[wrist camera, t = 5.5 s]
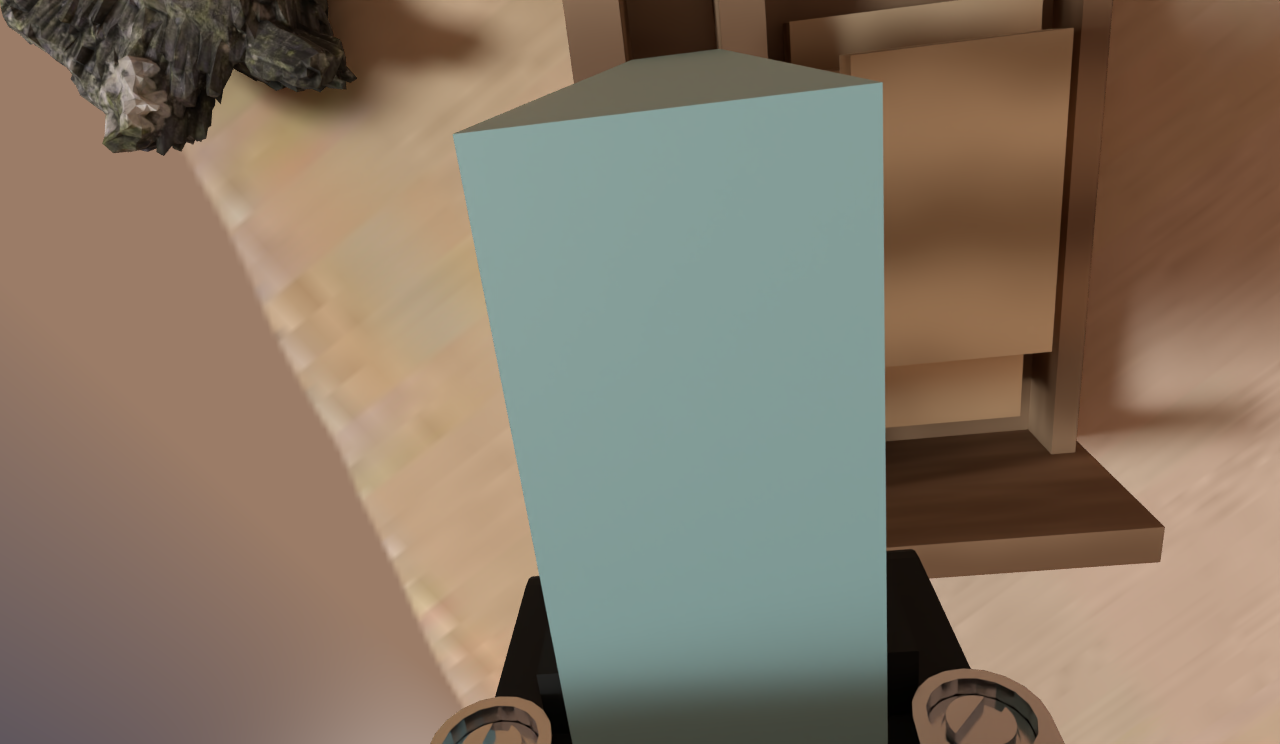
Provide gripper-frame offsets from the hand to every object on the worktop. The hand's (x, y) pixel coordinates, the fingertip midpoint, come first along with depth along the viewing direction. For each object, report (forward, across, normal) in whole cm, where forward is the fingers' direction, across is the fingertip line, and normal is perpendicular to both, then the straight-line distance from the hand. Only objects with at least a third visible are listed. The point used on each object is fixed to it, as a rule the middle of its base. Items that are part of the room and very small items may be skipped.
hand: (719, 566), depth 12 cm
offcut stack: (+24, -9, +1) cm, 26 cm away
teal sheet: (+15, 0, 0) cm, 15 cm away
